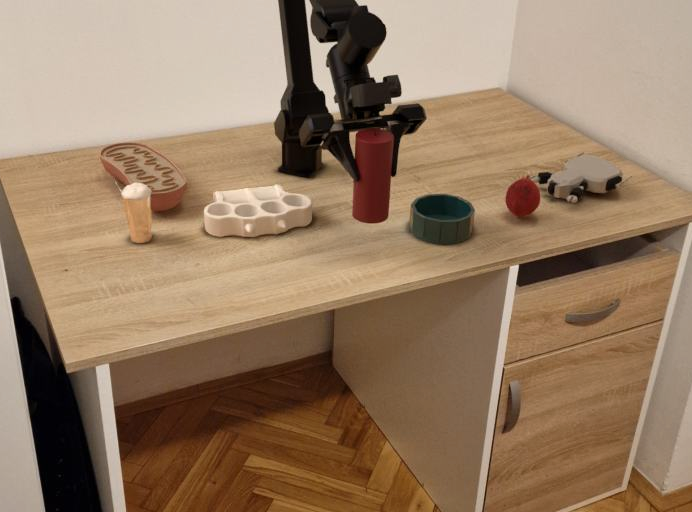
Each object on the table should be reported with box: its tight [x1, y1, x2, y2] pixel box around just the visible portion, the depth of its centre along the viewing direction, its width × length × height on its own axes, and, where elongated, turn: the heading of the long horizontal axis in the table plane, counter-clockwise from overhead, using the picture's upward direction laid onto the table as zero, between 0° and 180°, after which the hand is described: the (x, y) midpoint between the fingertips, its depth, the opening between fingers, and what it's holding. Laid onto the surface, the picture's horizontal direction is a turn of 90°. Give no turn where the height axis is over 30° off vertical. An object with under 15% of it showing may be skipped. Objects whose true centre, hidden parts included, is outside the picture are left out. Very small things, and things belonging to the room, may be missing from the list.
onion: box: [504, 173, 541, 219], centre depth 157 cm, size 6×6×8 cm
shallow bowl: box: [408, 193, 476, 245], centre depth 154 cm, size 10×10×4 cm
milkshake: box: [114, 180, 153, 244], centre depth 146 cm, size 4×5×10 cm
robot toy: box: [530, 150, 634, 204], centre depth 168 cm, size 12×4×15 cm
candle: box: [351, 128, 394, 225], centre depth 140 cm, size 6×6×14 cm
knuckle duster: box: [203, 183, 313, 238], centre depth 155 cm, size 3×18×15 cm
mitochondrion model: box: [99, 141, 187, 212], centre depth 162 cm, size 23×10×5 cm, turn 33°
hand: (375, 178), depth 139 cm, fingers closed on candle, 5 cm apart
